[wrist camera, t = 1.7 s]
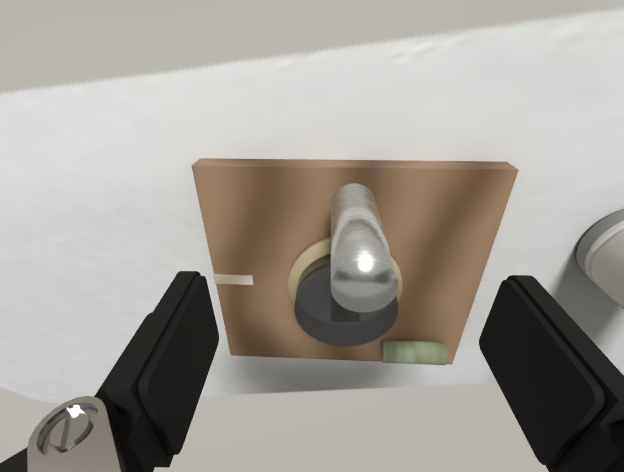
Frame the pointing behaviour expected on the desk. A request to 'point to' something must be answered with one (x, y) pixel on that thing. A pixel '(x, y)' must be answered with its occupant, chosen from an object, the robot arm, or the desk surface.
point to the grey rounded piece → (350, 276)
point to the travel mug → (605, 255)
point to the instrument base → (317, 243)
